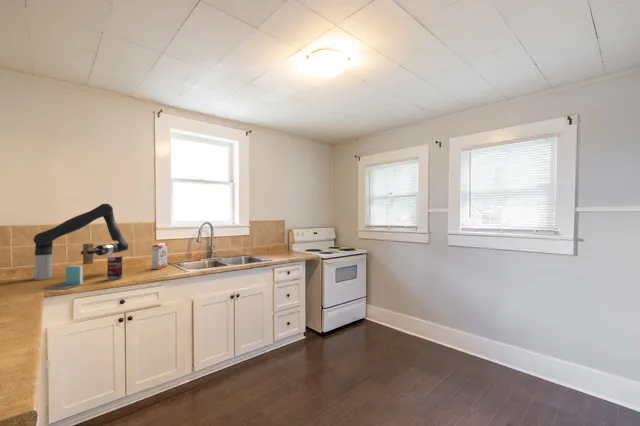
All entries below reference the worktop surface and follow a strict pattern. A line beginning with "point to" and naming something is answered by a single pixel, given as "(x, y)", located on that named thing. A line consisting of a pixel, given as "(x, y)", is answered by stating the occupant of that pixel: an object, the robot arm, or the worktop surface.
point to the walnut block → (87, 257)
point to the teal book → (74, 274)
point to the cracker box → (159, 255)
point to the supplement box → (114, 267)
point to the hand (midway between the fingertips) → (84, 252)
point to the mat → (63, 286)
